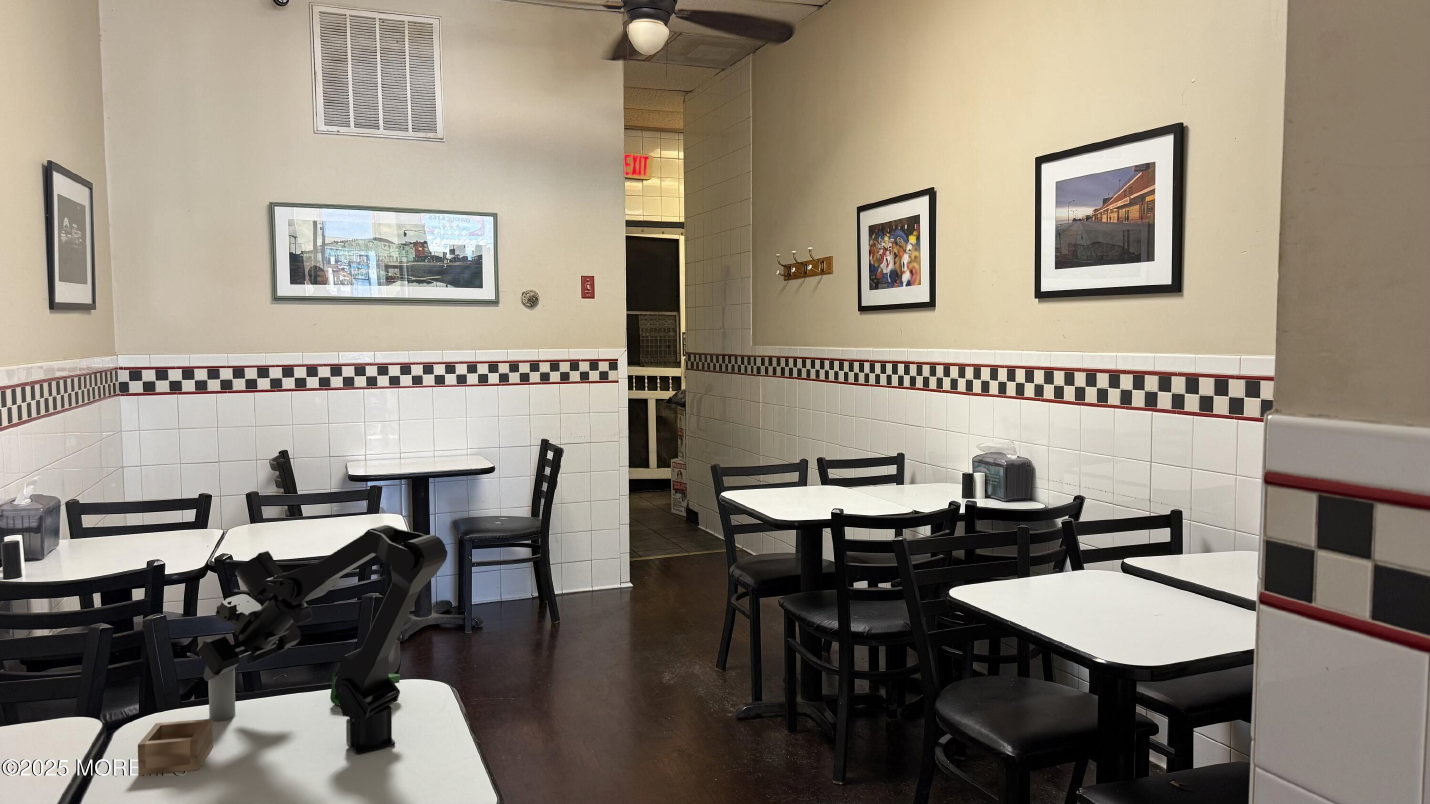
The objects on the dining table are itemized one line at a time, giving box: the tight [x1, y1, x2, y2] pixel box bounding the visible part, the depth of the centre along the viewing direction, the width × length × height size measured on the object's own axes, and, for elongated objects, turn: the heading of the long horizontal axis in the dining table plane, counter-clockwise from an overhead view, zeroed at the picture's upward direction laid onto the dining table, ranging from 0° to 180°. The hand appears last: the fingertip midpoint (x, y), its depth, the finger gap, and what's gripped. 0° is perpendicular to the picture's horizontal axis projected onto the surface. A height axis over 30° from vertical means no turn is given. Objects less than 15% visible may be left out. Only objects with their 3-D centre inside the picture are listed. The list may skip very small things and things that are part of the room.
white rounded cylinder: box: [208, 667, 236, 722], centre depth 168 cm, size 4×4×12 cm
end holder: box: [137, 718, 214, 776], centre depth 150 cm, size 8×8×5 cm
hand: (226, 670), depth 168 cm, fingers open, 9 cm apart
